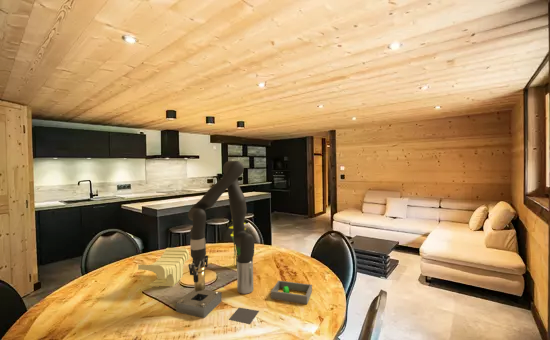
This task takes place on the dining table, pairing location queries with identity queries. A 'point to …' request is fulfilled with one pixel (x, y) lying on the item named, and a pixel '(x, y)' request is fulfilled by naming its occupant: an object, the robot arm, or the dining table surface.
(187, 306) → the housing
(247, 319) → the mat
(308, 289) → the parts tray
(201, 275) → the brass capped cylinder
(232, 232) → the daffodil flowers
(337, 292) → the dining table surface
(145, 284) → the dining table surface
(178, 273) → the slatted curved stool
